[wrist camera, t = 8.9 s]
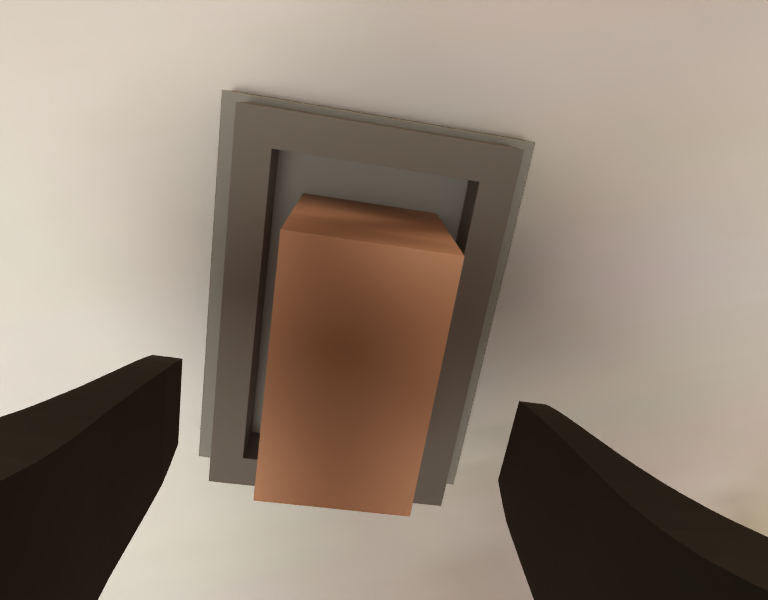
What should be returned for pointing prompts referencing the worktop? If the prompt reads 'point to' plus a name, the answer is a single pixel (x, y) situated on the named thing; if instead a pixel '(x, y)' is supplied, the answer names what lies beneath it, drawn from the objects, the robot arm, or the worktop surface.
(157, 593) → the worktop surface
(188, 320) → the worktop surface
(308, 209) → the terracotta bar
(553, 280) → the worktop surface
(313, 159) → the nest plate
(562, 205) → the worktop surface
